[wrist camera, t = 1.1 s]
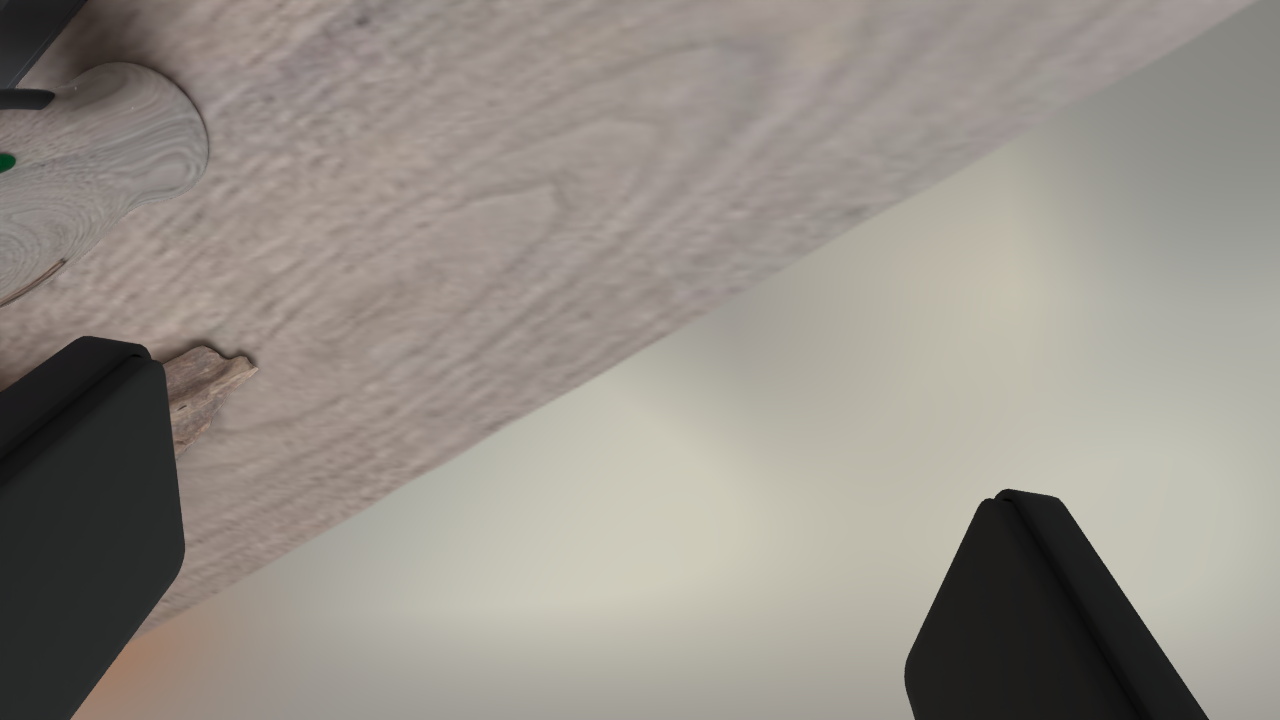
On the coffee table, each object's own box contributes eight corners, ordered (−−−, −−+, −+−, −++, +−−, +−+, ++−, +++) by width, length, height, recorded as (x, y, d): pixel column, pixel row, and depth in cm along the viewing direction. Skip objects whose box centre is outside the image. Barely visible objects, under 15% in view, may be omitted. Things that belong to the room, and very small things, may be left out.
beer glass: (230, 213, 39) (0, 363, 25) (82, 200, 39) (-226, 344, 25) (205, 57, 35) (-74, 136, 22) (43, 43, 35) (-334, 114, 22)
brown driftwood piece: (305, 419, 44) (272, 463, 40) (-65, 609, 51) (-121, 660, 48) (180, 273, 40) (132, 307, 37) (-200, 501, 48) (-271, 548, 44)
